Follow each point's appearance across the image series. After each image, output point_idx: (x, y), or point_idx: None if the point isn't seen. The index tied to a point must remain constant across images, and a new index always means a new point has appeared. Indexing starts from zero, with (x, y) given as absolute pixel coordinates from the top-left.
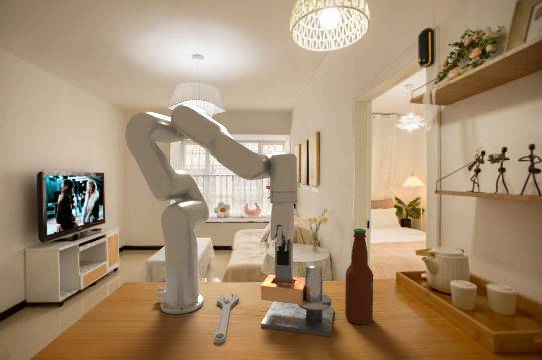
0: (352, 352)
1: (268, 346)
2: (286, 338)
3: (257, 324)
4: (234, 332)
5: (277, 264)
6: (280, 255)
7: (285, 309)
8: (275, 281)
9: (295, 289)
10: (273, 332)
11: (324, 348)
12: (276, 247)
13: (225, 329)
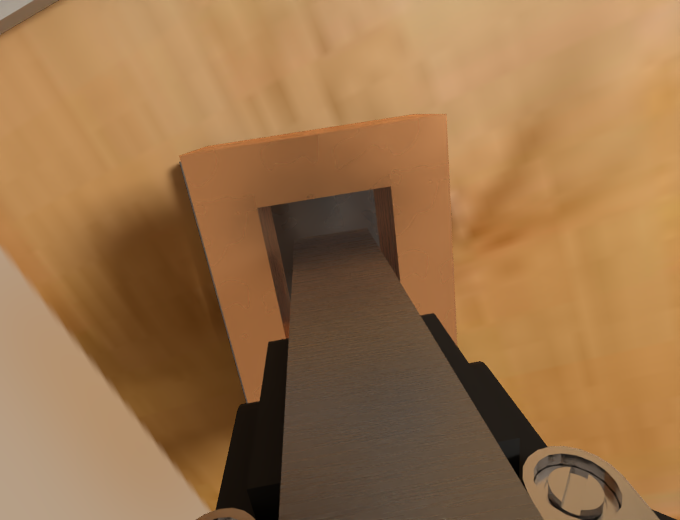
0: (206, 485)
1: (74, 253)
2: (165, 293)
3: (197, 132)
4: (69, 54)
5: (271, 342)
6: (228, 492)
7: (359, 219)
8: (295, 240)
9: (248, 398)
10: (176, 230)
11: (181, 419)
12: (290, 512)
13: (14, 5)
